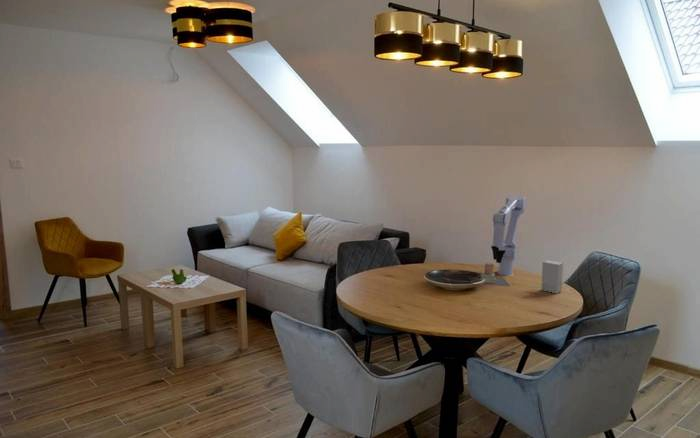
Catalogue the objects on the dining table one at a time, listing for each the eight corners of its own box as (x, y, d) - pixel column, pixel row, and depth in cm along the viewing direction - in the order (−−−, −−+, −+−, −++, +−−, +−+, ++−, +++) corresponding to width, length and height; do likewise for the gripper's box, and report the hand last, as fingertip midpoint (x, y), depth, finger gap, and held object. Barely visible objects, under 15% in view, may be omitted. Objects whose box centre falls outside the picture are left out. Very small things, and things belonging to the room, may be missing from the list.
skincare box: (561, 292, 264) (564, 262, 262) (556, 294, 260) (559, 264, 258) (545, 288, 270) (548, 259, 268) (539, 290, 266) (542, 261, 264)
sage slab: (481, 275, 281) (481, 271, 280) (492, 276, 280) (493, 272, 280) (483, 278, 275) (483, 274, 274) (495, 279, 274) (495, 275, 274)
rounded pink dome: (483, 272, 280) (484, 263, 279) (492, 272, 279) (493, 263, 278) (484, 274, 275) (485, 265, 275) (493, 275, 275) (494, 265, 274)
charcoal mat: (466, 277, 287) (466, 276, 286) (504, 279, 285) (504, 278, 285) (470, 285, 271) (470, 284, 271) (510, 287, 269) (510, 286, 269)
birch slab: (479, 279, 282) (480, 275, 281) (493, 279, 281) (493, 276, 281) (482, 282, 275) (482, 278, 274) (495, 283, 274) (496, 279, 274)
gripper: (509, 238, 271) (507, 264, 273) (504, 233, 286) (502, 258, 288) (495, 237, 272) (493, 263, 274) (490, 233, 286) (488, 257, 288)
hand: (497, 261), depth 281 cm, fingers open, 7 cm apart
